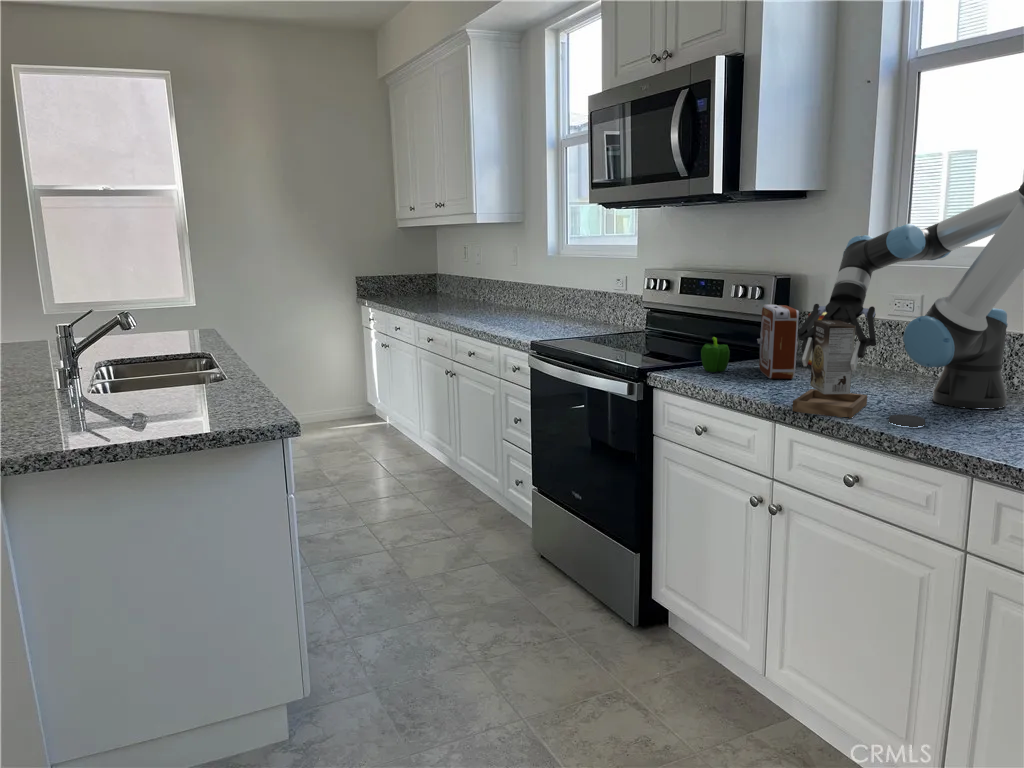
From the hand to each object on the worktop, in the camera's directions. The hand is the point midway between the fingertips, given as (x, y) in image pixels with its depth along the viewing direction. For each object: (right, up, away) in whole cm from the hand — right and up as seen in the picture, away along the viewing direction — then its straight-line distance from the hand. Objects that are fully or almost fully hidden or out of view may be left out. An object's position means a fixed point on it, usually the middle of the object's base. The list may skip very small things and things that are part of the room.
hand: (828, 365), depth 174 cm
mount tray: (+2, -10, +4) cm, 11 cm away
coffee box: (+2, -6, +4) cm, 7 cm away
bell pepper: (-12, -1, +51) cm, 52 cm away
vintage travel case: (+3, -1, +45) cm, 45 cm away
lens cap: (+13, -13, -10) cm, 21 cm away
